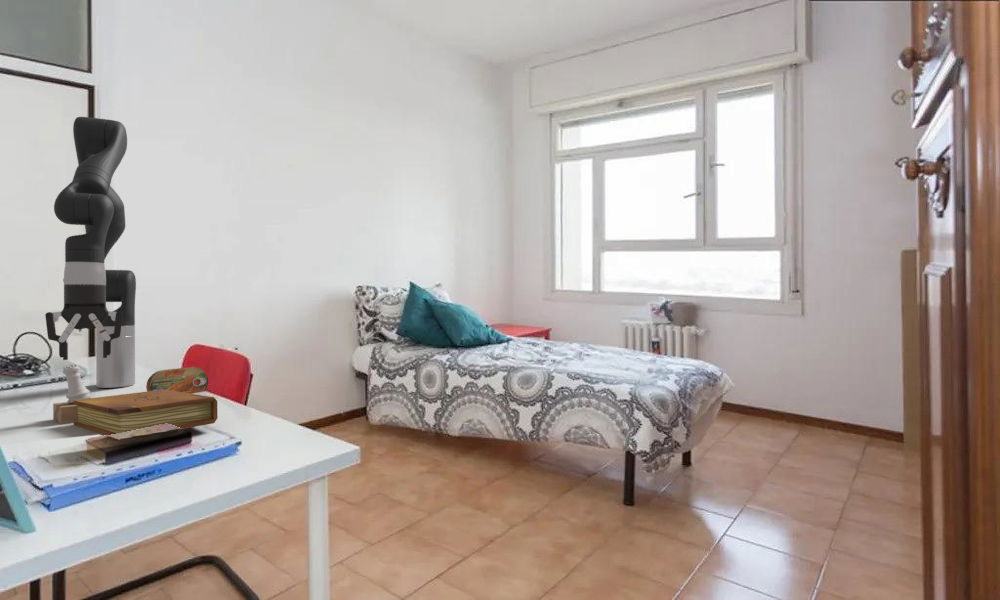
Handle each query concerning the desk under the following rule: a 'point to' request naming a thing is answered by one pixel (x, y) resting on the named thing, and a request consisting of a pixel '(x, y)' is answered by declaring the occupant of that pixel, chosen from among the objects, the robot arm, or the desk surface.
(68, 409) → the walnut block
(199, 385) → the tin
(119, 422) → the diary
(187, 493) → the desk surface
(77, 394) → the rook chess piece
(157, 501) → the desk surface
